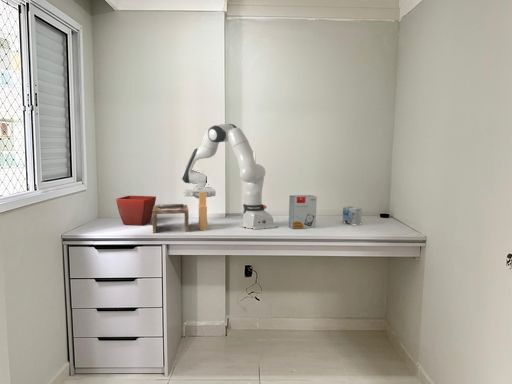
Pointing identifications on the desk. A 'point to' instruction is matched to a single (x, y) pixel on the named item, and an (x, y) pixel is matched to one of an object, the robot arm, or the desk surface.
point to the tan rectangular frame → (177, 207)
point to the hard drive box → (302, 211)
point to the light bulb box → (352, 215)
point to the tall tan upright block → (202, 211)
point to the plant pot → (136, 209)
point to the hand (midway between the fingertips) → (200, 194)
